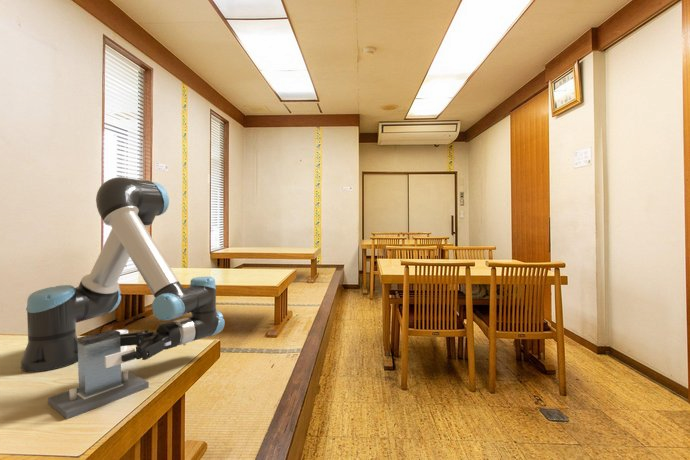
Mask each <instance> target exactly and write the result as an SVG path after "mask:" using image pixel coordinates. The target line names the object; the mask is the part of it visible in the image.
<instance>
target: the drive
mask: <svg viewBox="0 0 690 460" xmlns="http://www.w3.org/2000/svg"><path fill="white" fill-rule="evenodd" d="M116 330H117V329H109V330H106V331H101V332H97V333H93V334H92V333H91V334H88V335H84V336H80V337H77V338H78V361H77V362H78V363H77V366H78V367H77V371H78V388H79V394H81V395H82V396H84V397H85V398H86V397H89V396H92V395H95V394H97V393H100V392H103V391H106V390H109V389H111V388H114V387H117V386H120V385H121V373H122V364H118V365H115V366H112V367H109V368H105V356H108V355H112V354H115V353H119V352H121V350H120V332H119V331H116Z"/></svg>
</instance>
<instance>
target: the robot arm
mask: <svg viewBox="0 0 690 460" xmlns="http://www.w3.org/2000/svg"><path fill="white" fill-rule="evenodd" d="M95 198H96V199H95V201H96V202H95V203H96V208H97V212H98V214H99V216H100V218H101V219H102V221H103V223H104V224H105V225H106V226H110V227H111V230H110V232H109V234H108V236H107V238H106V240H105V242H104V244H103V246H102V249H101V251H100V252H99V255H98V256H97V259H96V261H95V262H94V265H93V267H92V269H91V272H90V273H89V274H85V275H84V276H82V278H81V280H80V282H79V283H78V286H77V287H75V286H73V285H71V284H70V285H69V284H65V285H64V284H63V285H57V286H49V287H45V288H41V289H39V290H35V291H33V292H32V293H30V294H29V296H28V297H27V302H26V303H27V304H26V308H25V309H26V315H27V336H28V337H27V344H26V347H25V350H24V353H23V356H22V358H21V361H20V369H21V370H22V371H24V372H28V373H29V372H31V373H32V372H34V373H35V372H43V371H49V370H50V371H51V370H56V369H60V368H63V367H67V366H70V365H73V364H74V363H76V362H78V338H79V337H78V336H77V331H76V328H77V327H76V325H77V323H80V322H84V321H88V320H91V319H94V318H95V319H96V318H99V317H102V316H105V315H108V314H110V313H112V312H113V311H115V310H116V309H117V308H118V306H119V305H120V303H121V301H122V295H121V293H122V291H121V289H120V284H119V282H118V281H119V280H120V279H119V278H120V277H121V276H122V273H123V271H124V269H125V267H126V265H127V263H128V261H129V259H131V261H132V263H133V264H134V266H135V267H136V269H137V270H138V273H139V274H140V276H141V277H142V279H143V280H144V282H145V284H146V285H147V287H148V289H149V291H150V292H151V294H152V295H153V297H154V298H153V300H152V302H151V303H152V304H151V308H152V313H153V315H154V317H155V318H156V319H158V320H160V321H163V322H164V323H161V324H159V325H158V327H157V329H156V330H155V332H154V331H149V329H144V330H140V331H135V332H128V333H126V334H120V346H127V347H128V346H135V348H130V349H127V350H126V351H122V352H119V353H115V354H112V355H108V356H105V368H109V367H112V366H115V365H118V364H121V365H122V364H124V363H128V362H131V361H134V360H141V359H142V361H146V360H148V359H150V358H152V357H154V356H155V355H157V354H160V353H161V352H163V351H164V350H165V351H166V350H169V349H173V348H177V347H178V346H182V345H183V346H186V345H187V344H188V343H193V342H195V341H197V340H201V339H204V338H205V339H206V338H208V337H212V336H214V335H217V334H220V333H221V332H222V331H223V329H224V328H225V319H224V315H223V313H222V312H220V311H219V310H217V288H216V279H215V278H214V277H213V276H198V277H197V276H196V277H192V279H190V282H189V283H190V284H189V286H187V287H183V285H182V284H181V283H180V281H179V279H178V278H177V276H176V275H175V273H174V271H173V270H172V268H171V266H170V265H169V263H168V261H167V260H166V259H165V257H164V255H163V254H162V252H161V250H160V249H159V247H158V245H157V244H156V242H155V241H154V239H153V238H152V236H151V234H150V233H149V231H148V229H147V228H146V227H149V226H151V225H152V224H153V222H154V220H155V218H156V217H157V216H158V217H159V216H161V215H163V214H164V213H166V212H167V210H168V208H169V206H170V197H169V195H168V191H167V189H166V188H165V187H164V186H163V185H162V184H160V183H158V182H156V181H152V180H147V179H146V180H143V179H142V180H141V179H135V178H130V177H129V178H128V177H121V176H119V177H113V178H109V179H107V180H106V181H105V182H103V183H102V184H101V185H100V186H99V189H98V190H97V193H96V197H95ZM187 314H190V315H191V316H189V317H184V318H180V317H182V316H185V315H187ZM179 318H180V319H179ZM171 320H173V321H171ZM165 321H167V322H165Z"/></svg>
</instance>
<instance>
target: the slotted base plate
mask: <svg viewBox="0 0 690 460" xmlns="http://www.w3.org/2000/svg"><path fill="white" fill-rule="evenodd" d="M149 383H150V382H149V381H147V380H146V379H144V378H142V377H140V376H137V375H135V374H133V373H131V372H130V371H128V370H123V371H121V385H120V386H117V387H114V388H111V389H109V390H106V391H103V392H100V393H97V394H95V395H92V396H89V397H86V398H85V397H84V396H82V395H81V394H79V387H71V388H70V389H69V390H68V391H64V392H61V393H58V394H56V395H51V396H49V397H48V398H47V404H48V405H49V406H50V407H52V409H54V410H55V411H56V412H57V413H59V414H60V415H61V416H62V417H64V418H65V419H66V420H69V419H71V418H74V417H76V416H79V415H81V414H84V413H86V412H89V411H91V410H94V409H96V408H100V407H102V406H104V405H107V404H110V403H112V402H115V401H118V400H120V399H123V398H126V397H128V396H131V395H132V394H135V393H137V392H140V391H143V390H145V389H149V387H150V385H149Z"/></svg>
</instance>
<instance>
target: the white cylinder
mask: <svg viewBox="0 0 690 460" xmlns="http://www.w3.org/2000/svg"><path fill="white" fill-rule="evenodd" d="M115 330H116V331H119V332H120V334H126V333H129V329H121V328H120V329H115ZM120 350H121V352H122V351H126V350H128V346H120Z"/></svg>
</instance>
